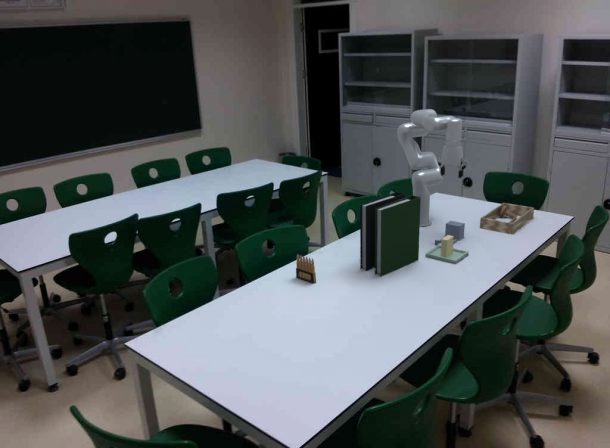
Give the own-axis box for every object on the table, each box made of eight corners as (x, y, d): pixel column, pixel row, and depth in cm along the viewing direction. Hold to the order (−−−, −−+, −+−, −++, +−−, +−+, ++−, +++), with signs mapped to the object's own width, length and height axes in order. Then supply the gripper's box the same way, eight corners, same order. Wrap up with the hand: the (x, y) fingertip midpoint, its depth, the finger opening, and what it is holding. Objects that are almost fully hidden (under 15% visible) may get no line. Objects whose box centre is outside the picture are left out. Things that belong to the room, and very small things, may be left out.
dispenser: (434, 244, 279) (434, 230, 277) (450, 234, 293) (450, 220, 290) (448, 247, 274) (449, 233, 272) (463, 237, 288) (464, 223, 285)
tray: (425, 256, 265) (425, 253, 264) (438, 248, 275) (438, 244, 274) (455, 264, 255) (456, 260, 254) (468, 254, 265) (468, 251, 264)
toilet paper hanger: (502, 235, 298) (507, 224, 294) (487, 228, 302) (492, 217, 298) (515, 221, 317) (520, 210, 313) (501, 214, 321) (506, 203, 317)
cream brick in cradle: (440, 256, 263) (441, 239, 260) (447, 251, 268) (448, 234, 265) (446, 257, 261) (447, 240, 258) (452, 253, 266) (453, 236, 263)
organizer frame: (479, 228, 300) (480, 217, 298) (502, 212, 325) (503, 202, 323) (512, 234, 289) (513, 223, 287) (533, 217, 314) (534, 207, 312)
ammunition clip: (316, 282, 242) (315, 258, 238) (313, 284, 240) (312, 259, 236) (298, 276, 248) (297, 252, 245) (296, 277, 247) (294, 253, 243)
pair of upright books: (382, 277, 244) (382, 210, 234) (358, 268, 255) (357, 203, 244) (418, 260, 261) (420, 197, 251) (394, 252, 272) (395, 191, 261)
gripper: (434, 143, 272) (432, 175, 278) (466, 146, 262) (464, 180, 267) (440, 140, 278) (439, 172, 283) (472, 143, 267) (470, 177, 273)
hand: (451, 176), depth 275 cm, fingers open, 9 cm apart
